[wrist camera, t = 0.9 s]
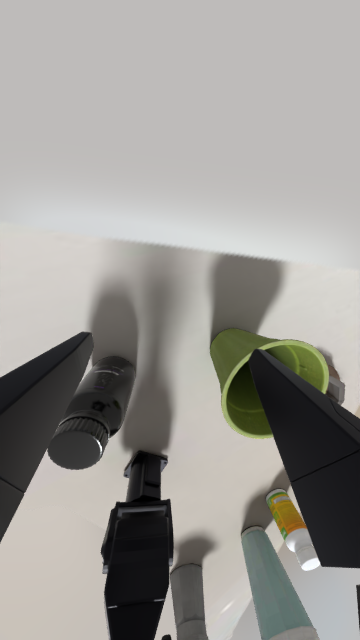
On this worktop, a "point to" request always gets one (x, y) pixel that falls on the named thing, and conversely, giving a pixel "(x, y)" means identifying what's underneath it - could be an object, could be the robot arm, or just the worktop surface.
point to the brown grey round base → (335, 386)
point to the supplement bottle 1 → (93, 414)
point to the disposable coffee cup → (273, 591)
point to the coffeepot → (188, 603)
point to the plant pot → (238, 382)
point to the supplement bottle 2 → (292, 528)
